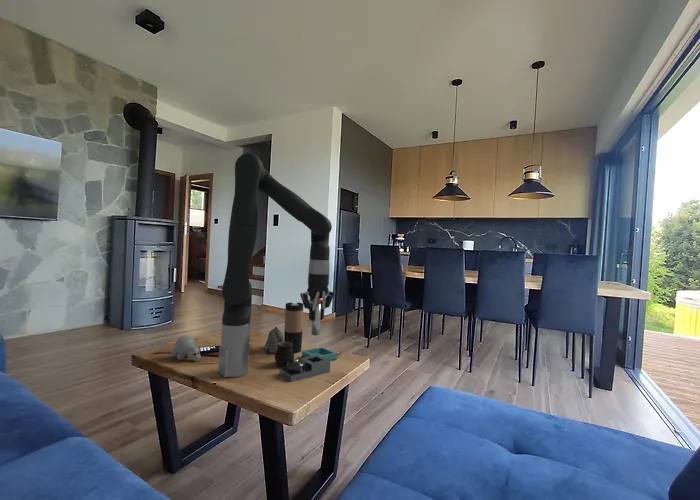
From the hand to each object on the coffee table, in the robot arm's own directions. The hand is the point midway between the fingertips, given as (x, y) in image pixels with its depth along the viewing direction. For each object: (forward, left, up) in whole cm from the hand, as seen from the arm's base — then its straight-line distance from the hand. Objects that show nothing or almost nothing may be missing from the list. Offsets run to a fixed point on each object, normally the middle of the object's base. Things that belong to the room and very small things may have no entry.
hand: (316, 319), depth 122 cm
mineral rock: (0, +29, -19) cm, 35 cm away
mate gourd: (-6, +11, -19) cm, 23 cm away
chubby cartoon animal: (-33, +36, -19) cm, 53 cm away
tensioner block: (-4, 0, -18) cm, 19 cm away
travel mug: (+5, +24, -19) cm, 31 cm away
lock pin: (0, 0, -5) cm, 5 cm away
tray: (+9, +10, -18) cm, 23 cm away
